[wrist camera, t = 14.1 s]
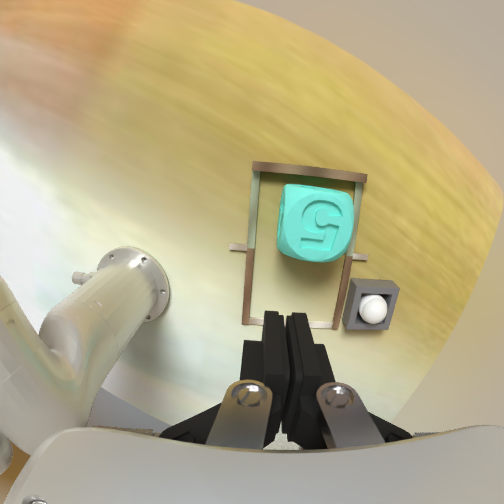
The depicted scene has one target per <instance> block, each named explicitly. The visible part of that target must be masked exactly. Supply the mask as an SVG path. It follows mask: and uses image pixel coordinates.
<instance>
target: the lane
mask: <svg viewBox="0 0 504 504" xmlns="http://www.w3.org/2000/svg"><path fill="white" fill-rule="evenodd" d="M260 171H264V172H276V173H287V174H297V175H307V176H316V177H324V178H332V179H340V180H348V181H355V189H354V198H353V207H354V225H353V232H352V237H351V241H350V244H349V246H348V249H347V250H346V254H345V260H344V266H343V272H342V277H341V283H340V288H339V293H338V298H337V303H336V308H335V313H334V318H333V322H318V321H308V322H309V326H310V328H332V329H338V327H339V323H340V318H341V314H342V309H343V305H344V300H345V295H346V290H347V285H348V280H349V275H350V270H351V264H352V259H358V260H368V254H362V253H354V247H355V240H356V234H357V227H358V220H359V213H360V206H361V197H362V189H363V183H366V182H367V174H362V173H356V172H349V171H342V170H335V169H327V168H319V167H310V166H301V165H292V164H281V163H270V162H257V161H253V166H252V184H251V198H250V213H249V227H248V241H247V244H238V243H230V246H229V250H242V251H247V256H246V270H245V285H244V300H243V315H242V324H247V325H249V324H255V325H263V323H264V318H251V317H249V312H250V299H251V286H252V273H253V260H254V247H255V234H256V221H257V207H258V194H259V181H260ZM284 325H286V320H284Z"/></svg>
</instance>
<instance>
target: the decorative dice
mask: <svg viewBox="0 0 504 504" xmlns="http://www.w3.org/2000/svg"><path fill="white" fill-rule="evenodd" d="M353 225H354V207H353V202H352V199H351V197H350V195H349V194H348V193H346V192H342V191H338V190H333V189H327V188H321V187H315V186H307V185H298V184H286V185H285V186H284V187H283V191H282V196H281V202H280V209H279V218H278V229H277V248H278V249H279V250H280V251H281V252H282V253H283V254H285V255H287V256H290V257H293V258H296V259H300V260H305V261H311V262H331V261H335V260H336V259H338V258H339V257H341V256H342V255H343V254H344V253H345V252H346V250H347V249H348V246H349V244H350V241H351V237H352V232H353Z"/></svg>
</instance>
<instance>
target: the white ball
mask: <svg viewBox="0 0 504 504" xmlns="http://www.w3.org/2000/svg"><path fill="white" fill-rule="evenodd" d="M358 312H359V313H360V315H361V317H362V318H363V320H364V321H366V322H368V323H371V324H376V323H379V322H381V321H382V320H383V319H384V318H385V317H386V314H387V304H386V301H385V300H384V299H383V298H382V296H381V295H380V294H370V293H363V294H361V299H360V303H359V307H358Z"/></svg>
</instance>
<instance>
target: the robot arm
mask: <svg viewBox="0 0 504 504" xmlns="http://www.w3.org/2000/svg"><path fill="white" fill-rule="evenodd" d="M113 255H114V256H113ZM145 258H146V259H145ZM72 281H73V283H74V284H79V285H81V286H80V287H79V288H77V289H76V290H75V291H74V292H72V293H71V294H70V295H69V296H67V297H66V298H65V299H64V300H62V301H61V302H60V303H59V304H57V305H56V306H55V307H54V308H52V309H51V311H50V312H49V313H48V314H47V316H46V317H45V319H44V321H43V323H42V325H41V328H40V331H39V335H38V334H37V333H36V331H35V330H34V328H33V327H32V325H31V323H30V322H29V320H28V319H27V317H26V315H25V314H24V312H23V311H22V309H21V307H20V305H19V304H18V302H17V300H16V298H15V297H14V295H13V293H12V291H11V290H10V288H9V287H8V285H7V283H6V282H5V280H4V279H3V278H2V277H1V276H0V475H1V474H2V473H3V472H4V471H5V470H6V469H7V468H8V467H9V465H10V463H11V461H12V456H13V450H12V445H11V442H10V440H11V441H12V442H13V443H14V444H15V445H16V446H18V447H19V448H21V449H22V450H23V451H24V452H26V453H28V454H29V455H31V457H30V459H29V460H28V461H27V463H26V464H25V466H24V468H23V469H22V471H21V472H20V474H19V476H18V478H17V479H16V481H15V482H14V484H13V486H12V488H11V490H10V492H9V494H8V496H7V498H6V500H5V502H4V504H504V427H501V426H496V425H476V426H469V427H463V428H459V429H454V430H449V431H445V432H436V433H414V434H413V436H411V435H410V433H408V432H406V431H405V430H403V429H401V428H399V427H397V426H395V425H393V424H391V423H389V422H387V421H385V420H383V419H381V418H379V417H377V416H375V415H373V414H371V413H370V412H368V411H367V409H366V407H365V406H364V404H363V402H362V400H361V399H360V397H359V395H358V393H357V392H356V391H355V390H354V389H353V388H352V387H350V386H349V385H346V384H344V383H339V382H335V379H334V375H333V372H332V368H331V365H330V362H329V358H328V355H327V352H326V349H325V346H324V344H314V341H313V337H312V334H311V330H310V326H309V322H308V319H307V315H306V313H295V312H292V315H291V316H287V318H286V325H284V317H283V315H279V313H278V311H265V313H264V323H263V332H262V341H251V340H244V345H243V354H242V364H241V373H240V381H237V382H234V383H233V384H232V385H230V386H229V388H228V389H227V391H226V393H225V396H224V399H223V401H222V403H220V404H218V405H216V406H214V407H212V408H210V409H208V410H206V411H204V412H202V413H200V414H197V415H195V416H193V417H191V418H189V419H187V420H185V421H183V422H180V423H178V424H176V425H174V426H171V427H169V428H167V429H166V430H164V431H163V432H162V433H154V432H153V430H150V429H149V430H148V429H147V430H146V429H130V428H117V427H106V426H92V427H86V426H87V424H88V421H89V417H90V414H91V410H92V407H93V404H94V401H95V398H96V396H97V393H98V391H99V389H100V387H101V385H102V384H103V382H104V380H105V378H106V377H107V375H108V373H109V372H110V370H111V369H112V367H113V366H114V364H115V363H116V361H117V360H118V358H119V357H120V355H121V354H122V352H123V351H124V349H125V348H126V346H127V345H128V343H129V342H130V340H131V339H132V337H133V336H134V334H135V333H136V331H137V330H138V329H139V327H140V326H141V324H142V323H146V322H149V321H152V320H154V319H155V318H157V317H158V316H159V315H160V314H161V313H162V312H163V310H164V309H165V307H166V305H167V303H168V299H169V284H168V280H167V277H166V274H165V272H164V270H163V269H162V267H161V266H160V264H159V263H158V262H157V261H156V260H155V259H154V258H153V257H152V256H151V255H149V254H148V253H146V252H145V251H143V250H140V249H138V248H134V247H119V248H116V249H114V250H112V251H110V252H109V253H107V254H106V255H105V256H104V257H103V258H102V259H101V261H100V263H99V264H98V267H97V271H96V272H90V273H89V274H85V273H81V272H74V273H73V275H72ZM163 289H164V290H165V291H164V290H163ZM280 423H281V424H282V433H283V434H287V440H288V442H295V443H296V444H298V445H299V446H300V447H299V450H263V448H264V447H266V446H267V445H269V444H270V443H271V442H273V441H274V439H275V435H276V433H278V432H279V427H280ZM9 439H10V440H9Z"/></svg>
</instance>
